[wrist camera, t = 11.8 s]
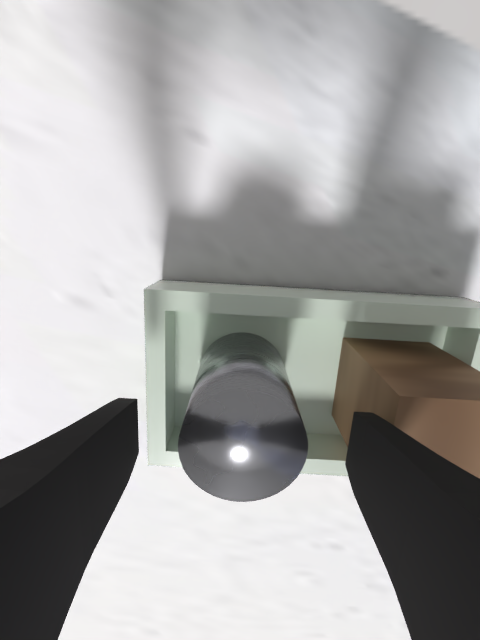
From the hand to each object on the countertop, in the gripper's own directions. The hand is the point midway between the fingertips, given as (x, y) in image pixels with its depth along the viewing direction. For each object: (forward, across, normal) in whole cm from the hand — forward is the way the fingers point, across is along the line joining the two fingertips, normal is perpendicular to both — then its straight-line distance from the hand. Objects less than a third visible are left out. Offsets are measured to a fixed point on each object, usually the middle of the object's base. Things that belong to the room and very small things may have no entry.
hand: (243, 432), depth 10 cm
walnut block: (+5, -6, 0) cm, 8 cm away
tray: (+5, -3, 0) cm, 6 cm away
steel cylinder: (+5, 0, 0) cm, 5 cm away
